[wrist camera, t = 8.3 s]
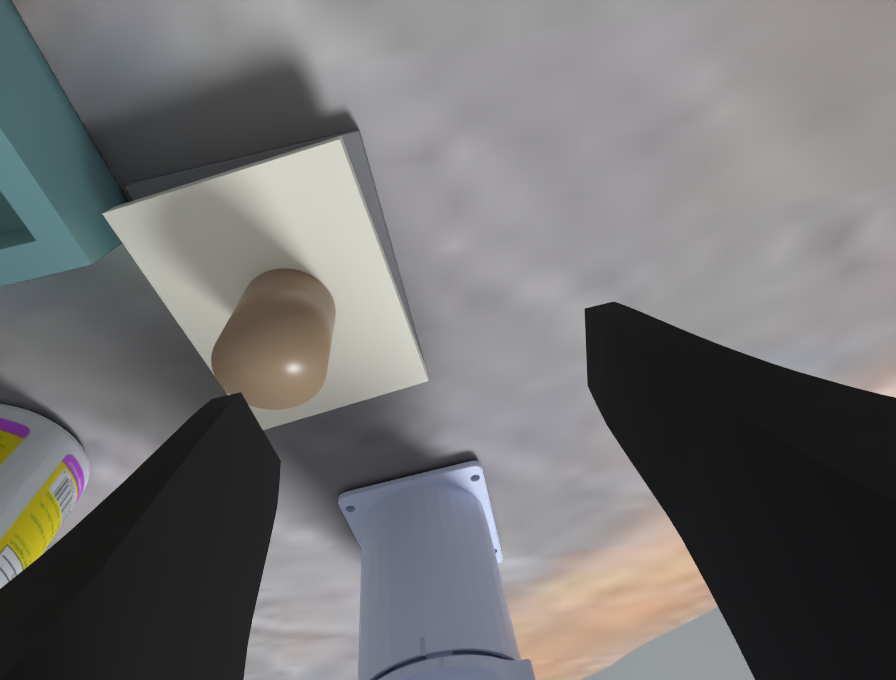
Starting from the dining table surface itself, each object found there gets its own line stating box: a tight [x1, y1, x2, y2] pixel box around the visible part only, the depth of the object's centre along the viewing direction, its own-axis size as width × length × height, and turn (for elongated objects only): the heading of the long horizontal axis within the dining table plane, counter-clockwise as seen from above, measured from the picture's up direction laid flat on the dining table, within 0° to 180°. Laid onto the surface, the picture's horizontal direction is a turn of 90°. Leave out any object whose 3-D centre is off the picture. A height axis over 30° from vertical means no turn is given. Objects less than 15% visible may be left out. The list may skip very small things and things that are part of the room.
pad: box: [125, 129, 424, 361], centre depth 18 cm, size 10×8×1 cm
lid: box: [102, 136, 428, 430], centre depth 16 cm, size 10×8×5 cm
